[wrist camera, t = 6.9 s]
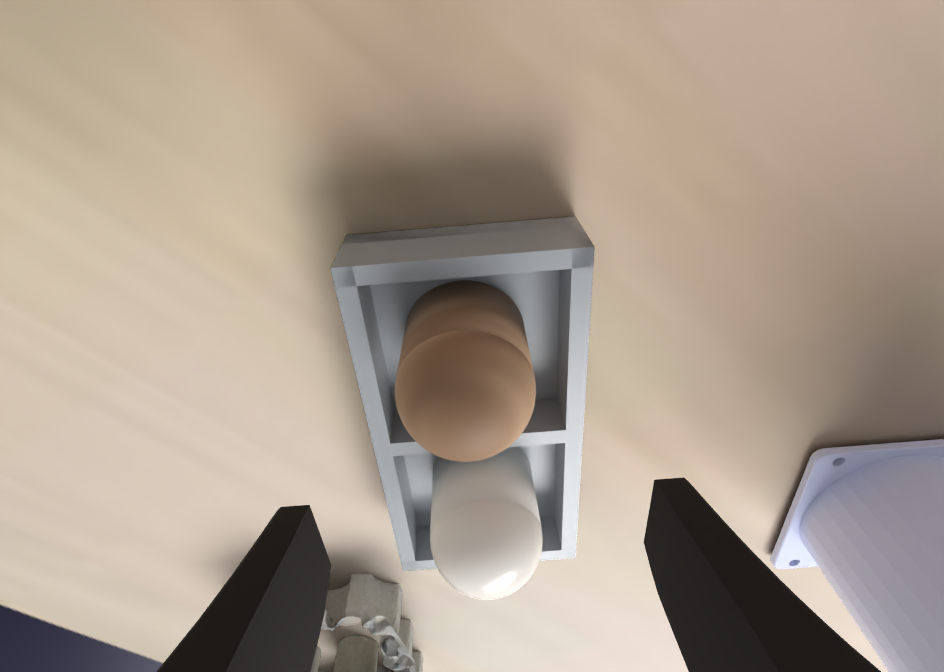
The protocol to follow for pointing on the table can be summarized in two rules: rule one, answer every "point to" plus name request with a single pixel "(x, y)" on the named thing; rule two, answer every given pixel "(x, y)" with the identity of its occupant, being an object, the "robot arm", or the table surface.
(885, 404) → the table surface
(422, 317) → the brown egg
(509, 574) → the cream egg
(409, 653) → the egg carton
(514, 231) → the holder
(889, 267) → the table surface
